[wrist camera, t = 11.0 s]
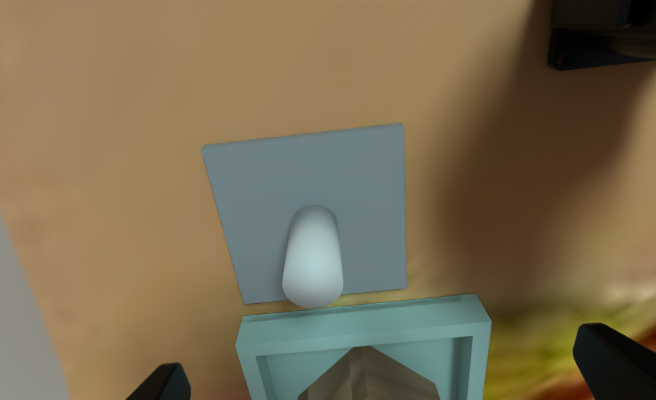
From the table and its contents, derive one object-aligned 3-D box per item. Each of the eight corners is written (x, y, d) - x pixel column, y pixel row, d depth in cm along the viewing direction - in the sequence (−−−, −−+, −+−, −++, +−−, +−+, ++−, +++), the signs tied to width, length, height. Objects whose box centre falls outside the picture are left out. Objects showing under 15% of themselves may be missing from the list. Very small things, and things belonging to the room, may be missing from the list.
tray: (475, 293, 23) (491, 321, 21) (462, 436, 29) (473, 468, 27) (242, 316, 23) (235, 345, 21) (281, 451, 30) (278, 485, 28)
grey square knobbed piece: (401, 122, 18) (433, 161, 13) (404, 281, 22) (429, 356, 17) (204, 145, 18) (160, 191, 13) (245, 297, 23) (224, 375, 18)
